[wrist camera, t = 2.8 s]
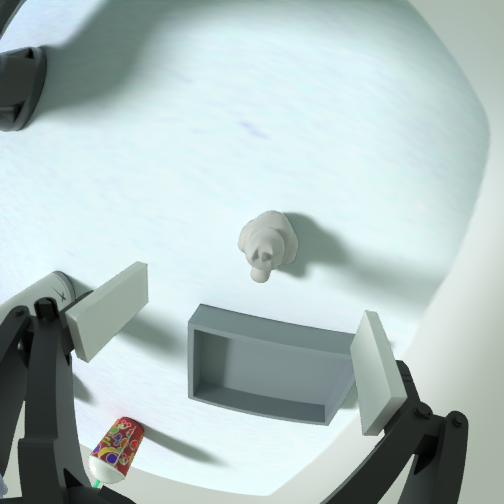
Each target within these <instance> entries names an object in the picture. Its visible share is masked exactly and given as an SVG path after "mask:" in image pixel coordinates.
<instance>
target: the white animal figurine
mask: <svg viewBox="0 0 504 504" xmlns="http://www.w3.org/2000/svg"><path fill="white" fill-rule="evenodd" d="M238 247H239V249H240V250H241V251H242V252H244V253H245V254H246V259H247V261H248V263H249V264H250V265H252V270H251V278H252V279H253V280H254V281H256V282H259V283H264V282H266V281H267V280H268V279H269V276H270V273H271V270H274V269H276V268H277V267H278V266H279V265H281V264H289V263H292V262H293V261H294V260H295V257H296V254H297V250H298V239H297V236H296V233H295V232H294V230H293V229H292V226H291V224H290V222H289V220H288V219H287V217H286V216H285V215H284V214H282V213H281V212H277V211H267V212H265V213H263V214H261V215H259V216H258V217H257V218H255V219H254V220H251V221H249V222H248V223H247V224H246V225H245V226H244V228H243V229H242V230H241V232H240V237H239V241H238Z"/></svg>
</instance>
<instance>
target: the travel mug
mask: <svg viewBox="0 0 504 504" xmlns="http://www.w3.org/2000/svg"><path fill="white" fill-rule="evenodd" d="M42 297H52V298H54V299H55V300H56V301H57V306H58V310H59V311H61V310H62V309H63V308H65V307H66V306H67V305H69V304H70V303H72V302H74V300H75V293H74V289H73V287H72V285H71V283H70V281H69V280H68V278H67V277H66V276H65V275H64V274H63V273H61V272H59V271H54V272H52V273H51V274H49V275H47V276H46V277H44V278H42V279H41V280H39V281H37V282H36V283H34V284H32V285H31V286H29V287H28V288H26V289H24V290H23V291H21V292H20V293H18V294H17V295H15V296H14V297H12V298H10V299H9V300H7V301H6V302H4V303H3V304H1V305H0V325H1V323H2V322H3V320H4V319H5V317H6V316H7V314H8V313H9V312H10V310H11V309H12V308H14V307H15V306H18V305H24V306H27V307H28V308H29V311H30V315H33V316H36V313H35V309H34V305H33V304H34V303H35V301H37V300H38V299H40V298H42ZM19 346H20V344H18V348H19Z"/></svg>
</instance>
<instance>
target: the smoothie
mask: <svg viewBox="0 0 504 504" xmlns="http://www.w3.org/2000/svg"><path fill="white" fill-rule="evenodd" d="M143 437H144V436H143V428H142V427H141V426H140V425H139V424H138V423H137V422H135V421H134V420H132V419H130V418H127V417H122V418H121V419H117V421H116V422H115V423H114V425H113V426H112V427H111V429H110V430H109V431H108V432H107V434H106V435H105V436H104V438H103V439H102V440H101V441H100V443H99V444H98V445H97V447H96V448H95V449H94V450H93V452H92V453H91V455H89V456H88V458H89V469H90V471H91V473H92V474H93V476H94V477H95V478H96V479H97V481H96V483H95V485H94V486H93V487H95V488H97V486H98V484H99V483H100V482H103V483H106V484H113V483H117V482H119V481H121V480H123V479H125V476H126V474H127V472H128V469H129V467H130V465H131V463H132V461H133V459H134V456H135V454H136V452H137V450H138V447H139V445H140V443H141V441H142V439H143Z"/></svg>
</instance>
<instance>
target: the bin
mask: <svg viewBox="0 0 504 504" xmlns="http://www.w3.org/2000/svg"><path fill="white" fill-rule="evenodd" d="M355 335H356V334H349V333H343V332H336V331H330V330H324V329H318V328H312V327H307V326H301V325H296V324H291V323H285V322H280V321H275V320H270V319H265V318H260V317H256V316H251V315H246V314H242V313H237V312H233V311H229V310H224V309H220V308H216V307H212V306H208V305H204V304H200V305H199V307H198V308H197V310H196V311H195V312H194V314H193V315H192V317H191V318H190V320H189V321H188V398H190V399H193V400H196V401H199V402H203V403H206V404H210V405H214V406H217V407H221V408H225V409H229V410H233V411H238V412H242V413H247V414H251V415H256V416H261V417H267V418H272V419H278V420H285V421H291V422H298V423H306V424H315V425H325V426H328V425H329V424H330V422H331V421H332V419H333V418H334V416H335V414H336V413H337V411H338V410H339V408H340V406H341V405H342V403H343V401H344V400H345V398H346V396H347V394H348V393H349V391H350V389H351V387H352V386H353V384H354V382H355V374H354V368H353V362H352V356H351V350H350V346H351V344H352V342H353V339H354V337H355Z"/></svg>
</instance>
